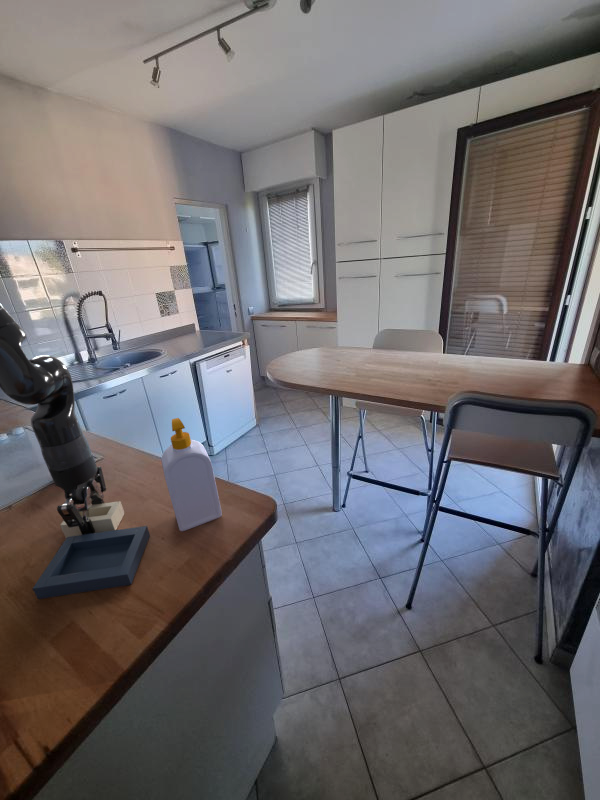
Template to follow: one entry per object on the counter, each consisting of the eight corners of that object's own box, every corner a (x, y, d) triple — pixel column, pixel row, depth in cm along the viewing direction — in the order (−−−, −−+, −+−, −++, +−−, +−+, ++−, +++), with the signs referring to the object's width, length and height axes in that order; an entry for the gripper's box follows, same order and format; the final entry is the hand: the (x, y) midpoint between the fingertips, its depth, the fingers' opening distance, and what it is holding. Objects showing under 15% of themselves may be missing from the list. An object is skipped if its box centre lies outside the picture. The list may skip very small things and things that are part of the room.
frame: (65, 538, 70) (59, 525, 68) (78, 519, 75) (73, 507, 73) (115, 531, 70) (110, 518, 69) (124, 513, 75) (120, 501, 74)
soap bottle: (215, 498, 78) (196, 410, 69) (222, 516, 72) (203, 423, 63) (175, 512, 75) (150, 421, 66) (180, 532, 69) (153, 436, 60)
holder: (37, 599, 57) (31, 588, 56) (71, 546, 67) (67, 536, 66) (131, 584, 58) (127, 574, 57) (150, 535, 69) (147, 525, 68)
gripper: (68, 441, 72) (92, 503, 79) (26, 482, 59) (60, 552, 65) (104, 437, 73) (125, 499, 79) (71, 476, 59) (99, 547, 66)
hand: (95, 523), depth 72 cm, fingers closed on frame, 5 cm apart
